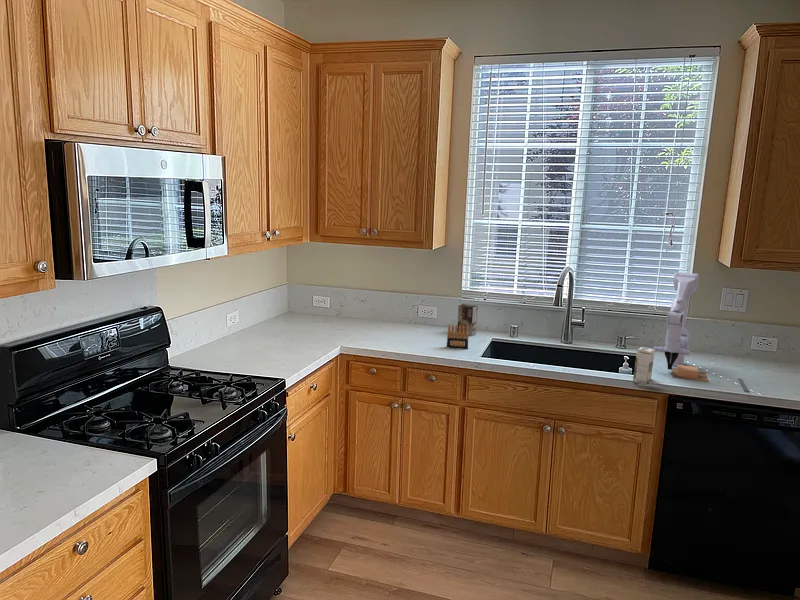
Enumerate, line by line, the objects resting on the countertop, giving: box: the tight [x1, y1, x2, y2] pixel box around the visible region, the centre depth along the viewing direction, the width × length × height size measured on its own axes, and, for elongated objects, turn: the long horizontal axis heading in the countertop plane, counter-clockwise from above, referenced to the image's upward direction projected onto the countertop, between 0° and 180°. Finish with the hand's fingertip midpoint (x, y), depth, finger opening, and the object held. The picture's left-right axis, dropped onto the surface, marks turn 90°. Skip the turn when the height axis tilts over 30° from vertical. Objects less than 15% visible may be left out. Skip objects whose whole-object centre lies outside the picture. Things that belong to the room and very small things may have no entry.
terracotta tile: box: [676, 365, 700, 378], centre depth 253 cm, size 7×8×3 cm
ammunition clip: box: [446, 324, 469, 350], centre depth 290 cm, size 11×2×12 cm, turn 82°
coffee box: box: [457, 303, 478, 337], centre depth 319 cm, size 9×6×16 cm
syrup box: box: [632, 346, 656, 386], centre depth 244 cm, size 6×6×14 cm
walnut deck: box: [670, 367, 710, 384], centre depth 253 cm, size 16×14×2 cm
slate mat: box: [737, 377, 750, 393], centre depth 248 cm, size 18×14×1 cm
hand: (669, 368), depth 256 cm, fingers closed
